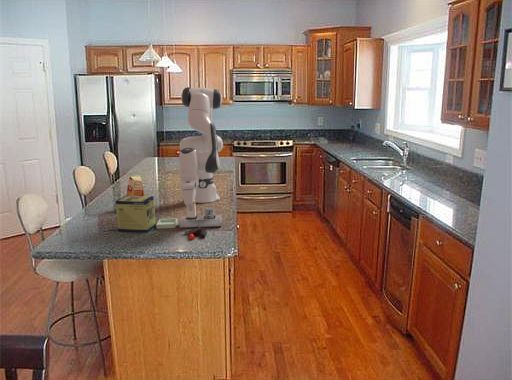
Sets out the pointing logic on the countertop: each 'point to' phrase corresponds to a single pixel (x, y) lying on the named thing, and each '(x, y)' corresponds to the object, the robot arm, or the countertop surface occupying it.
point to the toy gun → (196, 233)
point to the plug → (191, 213)
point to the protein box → (135, 213)
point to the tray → (167, 223)
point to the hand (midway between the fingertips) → (191, 209)
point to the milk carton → (135, 186)
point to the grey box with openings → (201, 220)
